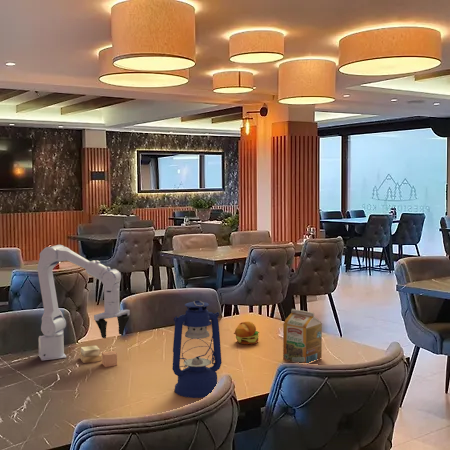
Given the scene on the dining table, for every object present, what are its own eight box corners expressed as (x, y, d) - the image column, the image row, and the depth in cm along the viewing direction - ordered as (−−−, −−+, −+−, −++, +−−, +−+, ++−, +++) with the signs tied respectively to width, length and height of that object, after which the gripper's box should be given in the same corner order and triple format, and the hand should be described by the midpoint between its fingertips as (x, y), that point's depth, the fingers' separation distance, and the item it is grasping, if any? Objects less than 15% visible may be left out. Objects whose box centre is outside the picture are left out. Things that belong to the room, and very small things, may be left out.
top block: (84, 357, 235) (84, 351, 235) (80, 353, 240) (80, 347, 240) (99, 355, 237) (99, 349, 237) (96, 351, 243) (96, 345, 242)
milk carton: (283, 359, 238) (283, 311, 236) (299, 353, 245) (299, 306, 244) (305, 365, 231) (305, 315, 229) (321, 358, 238) (321, 310, 237)
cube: (105, 367, 229) (105, 355, 229) (102, 363, 233) (102, 352, 233) (117, 365, 231) (116, 353, 231) (113, 362, 235) (113, 350, 235)
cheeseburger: (264, 340, 265) (262, 319, 262) (252, 352, 257) (249, 330, 254) (244, 337, 270) (241, 316, 268) (231, 348, 262) (229, 327, 259)
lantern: (180, 401, 194) (179, 307, 191) (165, 386, 208) (164, 298, 205) (230, 393, 200) (230, 302, 198) (212, 379, 214) (212, 294, 212)
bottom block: (83, 364, 234) (83, 358, 234) (79, 359, 240) (79, 353, 240) (101, 362, 237) (101, 355, 237) (97, 357, 243) (97, 351, 243)
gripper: (100, 305, 228) (101, 341, 229) (133, 300, 237) (134, 334, 238) (91, 302, 233) (91, 337, 234) (124, 297, 243) (124, 331, 244)
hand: (112, 336), depth 237 cm, fingers open, 7 cm apart
